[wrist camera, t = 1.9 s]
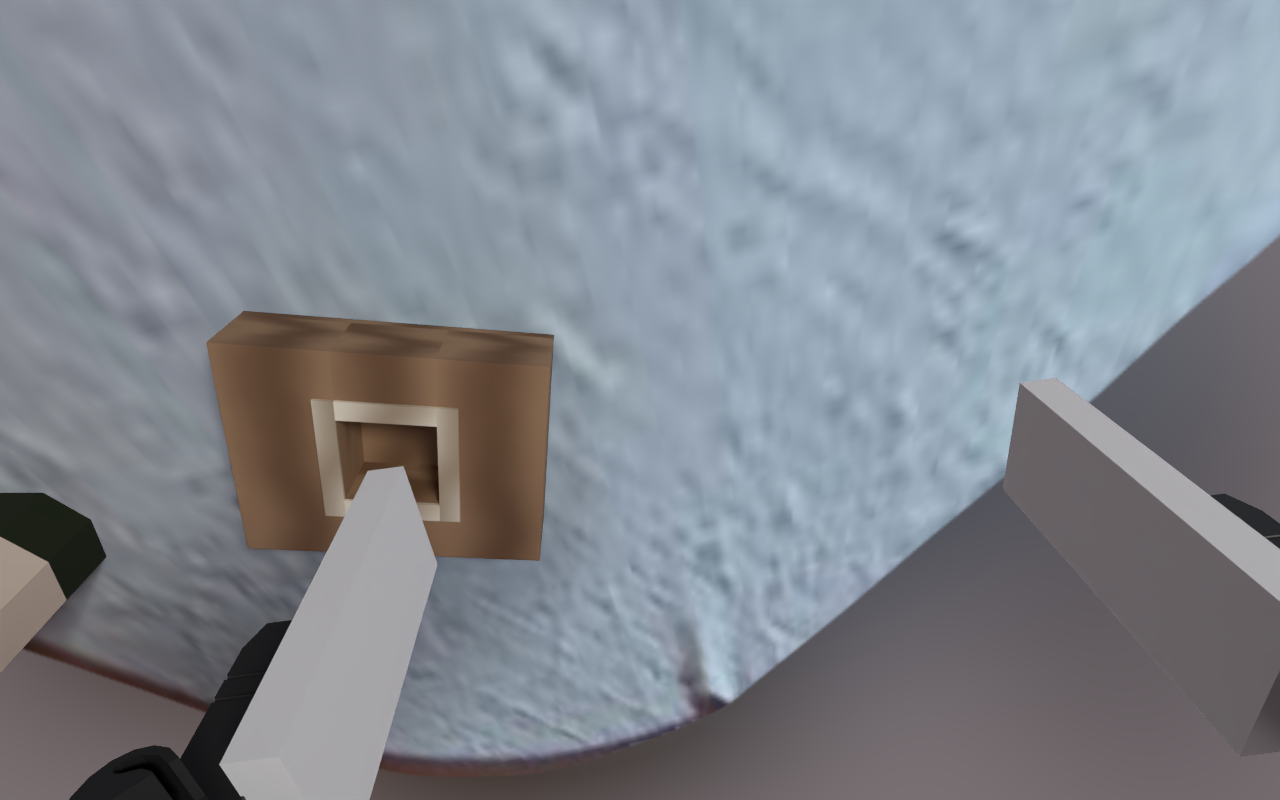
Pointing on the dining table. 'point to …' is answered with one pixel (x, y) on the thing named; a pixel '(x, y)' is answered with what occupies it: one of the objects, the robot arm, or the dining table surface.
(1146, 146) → the dining table surface
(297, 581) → the dining table surface
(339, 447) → the socket
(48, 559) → the wine bottle
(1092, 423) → the robot arm
